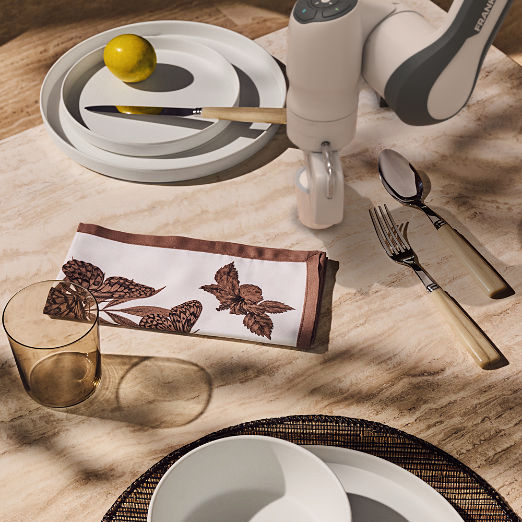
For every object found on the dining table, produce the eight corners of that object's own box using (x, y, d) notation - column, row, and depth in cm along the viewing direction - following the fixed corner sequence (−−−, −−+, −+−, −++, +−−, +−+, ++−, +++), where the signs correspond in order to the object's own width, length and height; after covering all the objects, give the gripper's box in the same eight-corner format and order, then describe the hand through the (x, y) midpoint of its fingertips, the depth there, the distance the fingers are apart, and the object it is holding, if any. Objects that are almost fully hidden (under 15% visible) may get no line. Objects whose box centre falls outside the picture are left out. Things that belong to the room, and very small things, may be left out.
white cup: (284, 214, 98) (283, 177, 93) (319, 192, 101) (320, 155, 96) (317, 239, 94) (318, 202, 89) (352, 216, 97) (355, 179, 92)
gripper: (359, 172, 78) (351, 254, 89) (336, 74, 92) (332, 155, 102) (304, 175, 78) (303, 257, 88) (289, 77, 92) (290, 157, 102)
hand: (318, 201), depth 96 cm, fingers closed on white cup, 5 cm apart
